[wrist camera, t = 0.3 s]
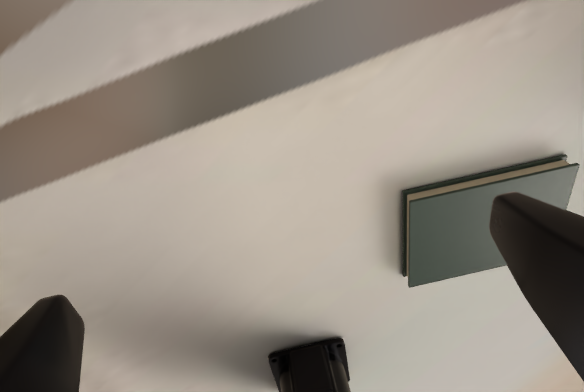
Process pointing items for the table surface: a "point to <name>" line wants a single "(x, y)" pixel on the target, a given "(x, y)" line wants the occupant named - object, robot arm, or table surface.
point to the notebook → (471, 217)
